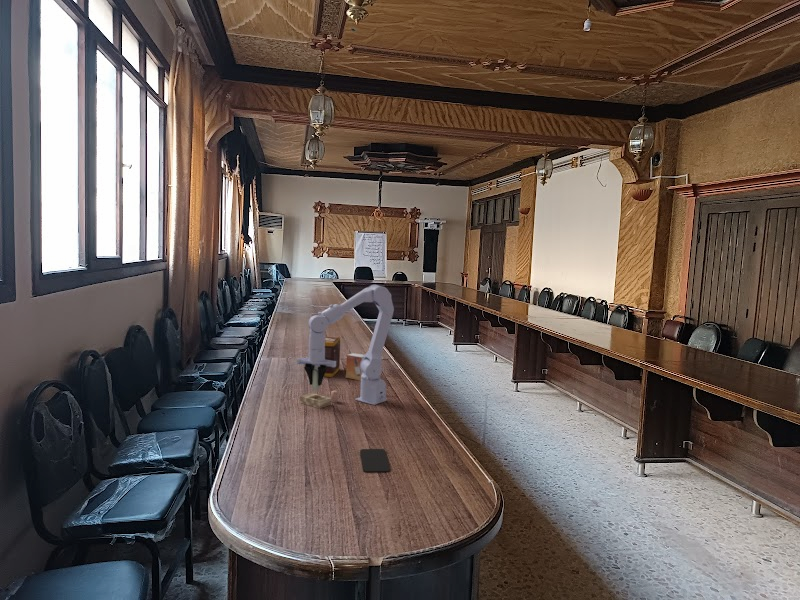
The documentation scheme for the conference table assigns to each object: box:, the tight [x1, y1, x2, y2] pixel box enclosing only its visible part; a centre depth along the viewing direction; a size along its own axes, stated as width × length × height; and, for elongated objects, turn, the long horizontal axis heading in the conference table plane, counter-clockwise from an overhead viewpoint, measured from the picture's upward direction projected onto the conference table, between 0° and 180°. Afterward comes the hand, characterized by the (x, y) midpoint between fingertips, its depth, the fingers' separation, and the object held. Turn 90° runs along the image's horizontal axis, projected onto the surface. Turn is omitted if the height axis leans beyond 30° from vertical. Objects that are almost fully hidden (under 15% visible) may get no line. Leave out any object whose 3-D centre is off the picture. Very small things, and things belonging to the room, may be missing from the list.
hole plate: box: [299, 392, 332, 409], centre depth 200 cm, size 10×6×2 cm, turn 55°
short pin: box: [330, 390, 339, 404], centre depth 204 cm, size 3×3×4 cm
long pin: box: [311, 369, 320, 392], centre depth 200 cm, size 3×3×8 cm
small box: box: [345, 352, 365, 382], centre depth 239 cm, size 8×6×10 cm
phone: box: [359, 448, 391, 474], centre depth 151 cm, size 7×1×15 cm
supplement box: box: [314, 335, 341, 378], centre depth 247 cm, size 10×15×16 cm
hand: (315, 384), depth 200 cm, fingers closed on long pin, 3 cm apart
